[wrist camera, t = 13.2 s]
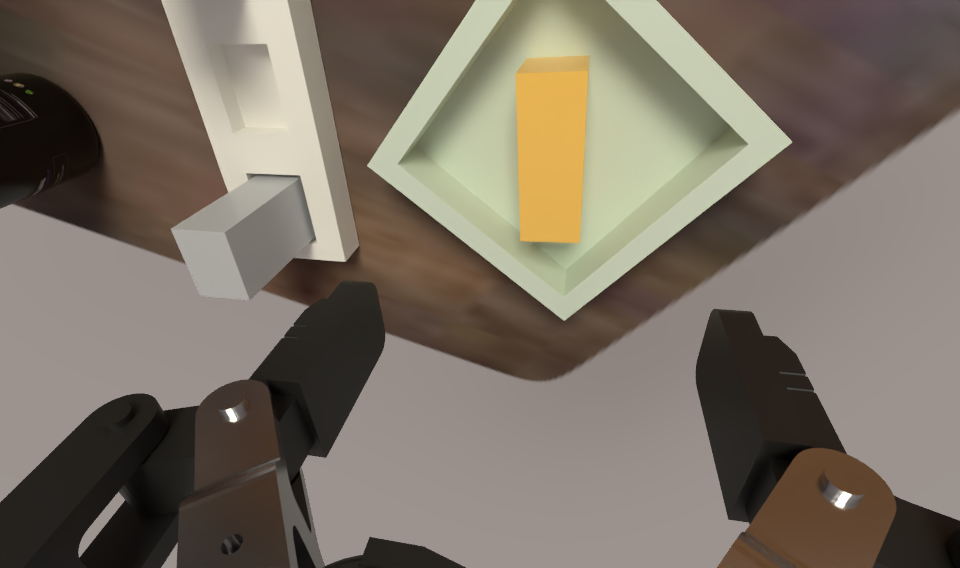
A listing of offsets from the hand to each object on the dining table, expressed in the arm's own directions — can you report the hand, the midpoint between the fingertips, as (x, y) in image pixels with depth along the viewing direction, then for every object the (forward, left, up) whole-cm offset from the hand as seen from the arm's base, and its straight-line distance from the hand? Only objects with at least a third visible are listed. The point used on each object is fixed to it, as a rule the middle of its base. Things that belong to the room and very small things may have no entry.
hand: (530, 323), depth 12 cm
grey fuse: (+15, -10, -16) cm, 24 cm away
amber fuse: (+4, +3, -14) cm, 15 cm away
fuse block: (+9, -14, -17) cm, 24 cm away
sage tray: (0, 0, -17) cm, 17 cm away
